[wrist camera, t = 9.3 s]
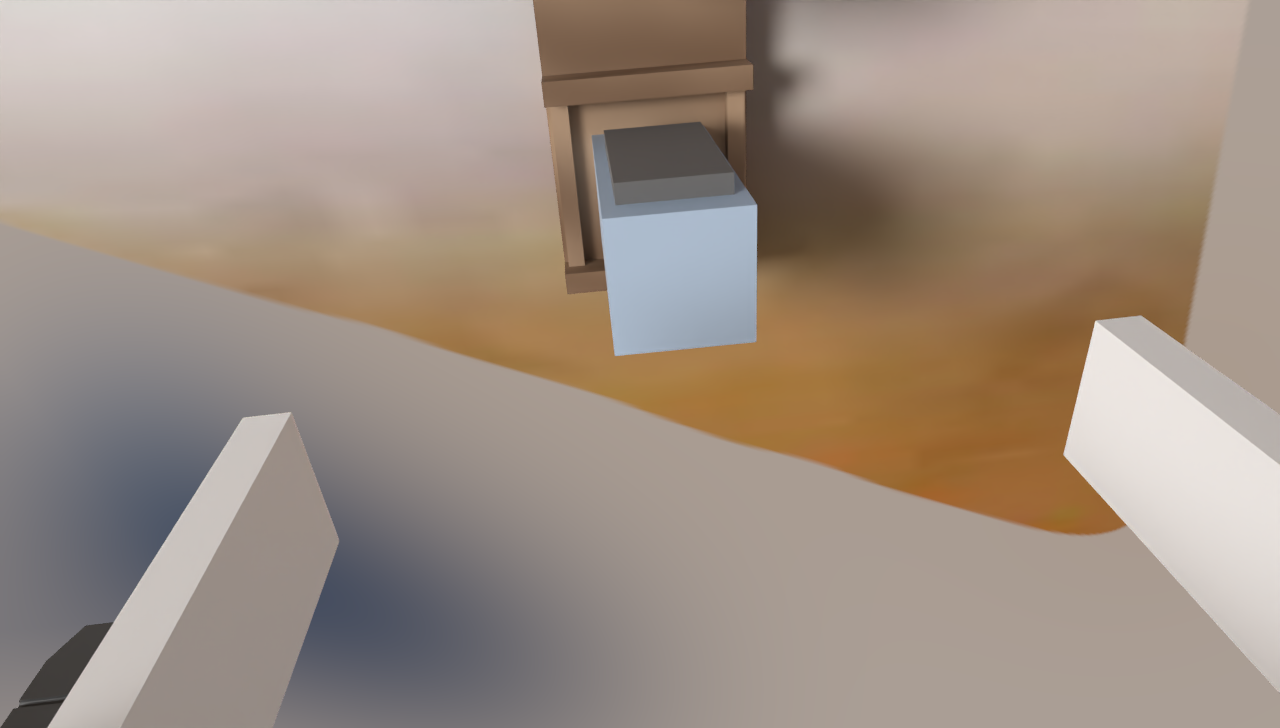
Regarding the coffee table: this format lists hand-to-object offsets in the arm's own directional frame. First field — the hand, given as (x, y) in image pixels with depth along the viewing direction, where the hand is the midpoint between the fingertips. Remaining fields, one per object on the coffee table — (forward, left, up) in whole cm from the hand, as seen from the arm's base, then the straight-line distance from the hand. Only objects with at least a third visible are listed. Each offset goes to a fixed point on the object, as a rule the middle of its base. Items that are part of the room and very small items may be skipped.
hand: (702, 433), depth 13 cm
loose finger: (+1, +1, -18) cm, 17 cm away
